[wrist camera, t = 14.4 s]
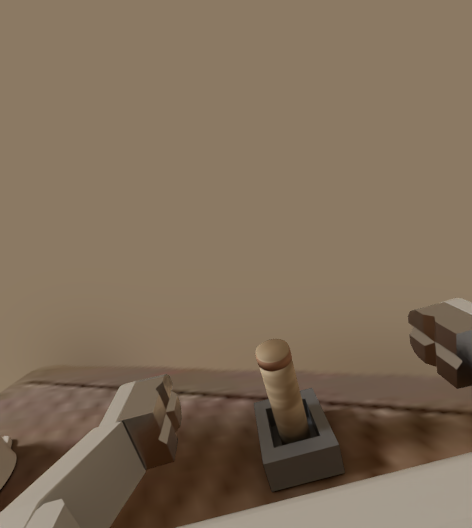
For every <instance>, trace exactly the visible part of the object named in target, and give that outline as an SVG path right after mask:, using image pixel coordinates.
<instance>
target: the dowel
mask: <svg viewBox="0 0 472 528" xmlns="http://www.w3.org/2000/svg"><path fill="white" fill-rule="evenodd" d="M256 358H257V362H258V365H259V367H260V370H261V374H262V377H263V381H264V384H265V387H266V391H267V394H268V398H269V401H270V404H271V408H272V411H273V415H274V418H275V422H276V425H277V428H278V432H279V435H280V439H281V442H282V445H287V444H291V443H294V442H298V441H302V440H306V439H310V438H311V434H310V430H309V426H308V422H307V418H306V414H305V410H304V406H303V402H302V398H301V394H300V390H299V386H298V382H297V378H296V374H295V370H294V366H293V362H292V356H291V352H290V348H289V346H288V344H287V343H286V342H285V341H283V340H281V339H271V340H267V341H265V342H263V343H261V344H260V345H259V346H258V347H257V349H256Z"/></svg>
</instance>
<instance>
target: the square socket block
mask: <svg viewBox="0 0 472 528" xmlns="http://www.w3.org/2000/svg"><path fill="white" fill-rule="evenodd" d="M300 394H301V398H302V402H303V406H304V410H305V414H306V418H307V422H308V426H309V430H310V434H311V438H310V439H306V440H302V441H298V442H294V443H291V444H287V445H282V442H281V439H280V435H279V432H278V428H277V425H276V422H275V418H274V415H273V411H272V408H271V404H270V401H269V399H267V400H264V401H260V402H256V403H254V409H255V416H256V422H257V428H258V435H259V441H260V448H261V454H262V460H263V466H264V469H265V472H266V475H267V478H268V481H269V485H270V488H271V491H272V492H273V491H277V490H281V489H285V488H288V487H292V486H296V485H300V484H304V483H308V482H312V481H315V480H319V479H323V478H327V477H331V476H335V475H339V474H342V473H345V471H344V466H343V461H342V456H341V451H340V446H339V443H338V441H337V439H336V437H335V435H334V433H333V431H332V429H331V427H330V424H329V422H328V420H327V418H326V416H325V414H324V412H323V410H322V408H321V406H320V403H319V401H318V399H317V397H316V395H315V393H314V391H313V389H312V388H309V389H305V390H301V391H300Z"/></svg>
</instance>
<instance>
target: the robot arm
mask: <svg viewBox="0 0 472 528" xmlns="http://www.w3.org/2000/svg"><path fill="white" fill-rule="evenodd" d="M408 321H409V324H410V325H412V326H413V327H414V328H413V329H412V331H411V333H410V343H411V346H412V348H413V350H414V352H415V353H416V354H417V356H418V357H419V358H420V359H421V360H422V361H424V362H425V363H426V364H429V365H433V366H436V368H437V373H438V374H439V375H441V376H442V377H443V378H444V379H445V380H447V381H448V382H449V383H450V384H452V385H453V386H454V387H455V388H457V389H459V388H464V387H468V386H472V303H471V302H469V301H467V300H464V299H461V298H454V299H450V300H447V301H444V302H440V303H438V304H434V305H431V306H427V307H423V308H420V309H416V310H412V311H410V312H409V315H408ZM172 386H173V382H172V380H171V378H170V376H169V375H168V374H164V375H160V376H156V377H151V378H147V379H143V380H139V381H135V382H131V383H127V384H123V385H122V386H120V388H119V389H118V391H117V393H116V395H115V397H114V399H113V401H112V403H111V405H110V406H109V408H108V410H107V412H106V414H105V416H104V418H103V420H102V422H101V424H100V425H99V427H97V428H94V429H92V430H91V431H90V432H89V433H88V434H87V435H86V436H85V437H84V438H82V439H81V440H80V441H79V442H78V443H77V444H76V445H75V446H74V447H72V448H71V449H70V450H69V451H68V452H67V453H66V454H65V455H64V456H62V457H61V458H60V459H59V460H58V461H57V462H56V463H55V464H54V465H52V466H51V467H50V468H49V469H48V470H47V471H46V472H45V473H44V474H42V475H41V476H40V477H39V478H38V479H37V480H36V481H35V482H34V483H32V484H31V485H30V486H29V487H28V488H27V489H26V490H25V491H24V492H23V493H21V494H20V495H19V496H18V497H17V498H16V499H15V500H14V501H13V502H11V503H10V504H9V505H8V506H7V507H6V508H5V509H4V510H3V511H1V512H0V528H110V526H111V525H112V523H113V522H114V520H115V519H116V517H117V516H118V514H119V512H120V511H121V509H122V508H123V506H124V505H125V503H126V502H127V500H128V499H129V497H130V495H131V494H132V492H133V491H134V489H135V488H136V486H137V485H138V483H139V482H140V480H141V478H142V477H143V475H144V474H145V472H146V471H145V470H147V469H151V468H154V467H157V466H161V465H164V464H168V463H171V462H174V460H175V454H176V449H177V443H178V438H177V436H176V431H177V430H178V429H179V428H180V425H181V419H182V415H181V405H180V400H179V398H178V395H177V394H175V393H174V392H172ZM11 445H12V439H11V438H10V437H9V436H4V437H1V436H0V489H1V488H2V487H3V485H4V484H5V483H6V481H7V480H8V478H9V477H10V475H11V473H12V471H13V469H14V467H15V464H16V459H17V458H16V454H15V452H14V451H12V450H11ZM176 528H472V452H471V453H467V454H463V455H459V456H455V457H451V458H447V459H443V460H439V461H435V462H431V463H427V464H423V465H420V466H416V467H412V468H408V469H404V470H400V471H396V472H392V473H388V474H384V475H380V476H376V477H373V478H369V479H365V480H361V481H357V482H353V483H349V484H345V485H341V486H337V487H333V488H329V489H326V490H322V491H318V492H314V493H310V494H306V495H302V496H298V497H294V498H290V499H286V500H282V501H278V502H274V503H271V504H267V505H263V506H259V507H255V508H251V509H247V510H243V511H239V512H235V513H231V514H227V515H223V516H219V517H215V518H212V519H208V520H204V521H200V522H196V523H192V524H188V525H184V526H180V527H176Z"/></svg>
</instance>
